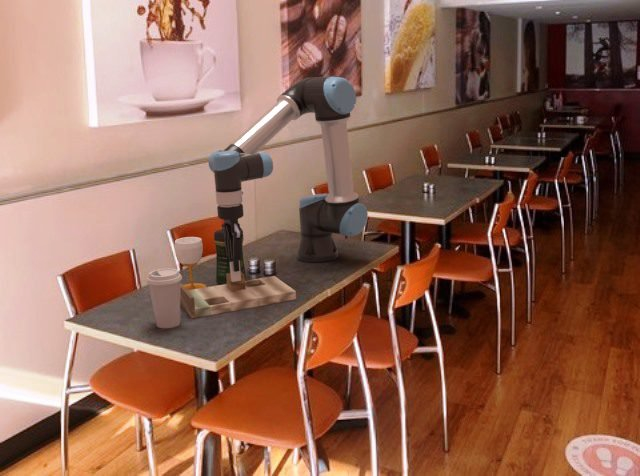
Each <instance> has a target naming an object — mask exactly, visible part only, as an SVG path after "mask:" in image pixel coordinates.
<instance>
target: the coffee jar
mask: <svg viewBox="0 0 640 476" xmlns="http://www.w3.org/2000/svg"><path fill="white" fill-rule="evenodd" d="M239 231H242V232H243V231H244V230H243V228H241V227H240V230H239ZM243 233H244V232H243ZM244 238H245V237H244V234H243V235H242V260H240V272H241V273H243V274H244V275H245V281H247V275H246V268H245V260H244V249H243V244H244ZM213 243H214V246H215V252H216V254H215V255H216V258H215V259H216V262H215V263H216V267H215V271H216V273H215V278H216V280H215V281H216V284H217V285H223V284H227V279H226V274H227V273H230V262H229V258H228V257H229V256H227V254H226V247H225V240H224V233H223V229H218V230H215V232H214V233H213Z"/></svg>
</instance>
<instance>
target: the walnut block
mask: <svg viewBox="0 0 640 476" xmlns="http://www.w3.org/2000/svg"><path fill="white" fill-rule="evenodd" d="M226 279H227V288H228V289H229V290H230V291H237V290H243V289H246V288H245V281H246V280H245V275H244V274H243V273H241V281H236V282H232V281H231V273H227V274H226Z"/></svg>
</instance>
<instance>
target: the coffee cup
mask: <svg viewBox="0 0 640 476" xmlns="http://www.w3.org/2000/svg"><path fill="white" fill-rule="evenodd" d="M182 279H183V277H182V274H181V273H180V272H179V270H178V269H177V268H169V267H168V268H158V269H155V270H154V269H153V270H152V271H149V273H148V276H147V278H146V284H148V288H149V293H150V299H151V304H152V309H153V313H154V314H153V315H154V320H155V324H156V328H159V329H172V328H176V327H178V326H180V325H181V304H180V283H181V281H182Z"/></svg>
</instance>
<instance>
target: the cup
mask: <svg viewBox="0 0 640 476" xmlns="http://www.w3.org/2000/svg"><path fill="white" fill-rule="evenodd" d="M174 250H175V254H176V257H177V260H178V262H179V263H180V264H181V265H183V266H184V267H186V268H188V269H189V271H188V272H189V281H190V283H187V284H182V285H183V286H184V287H185V288H186V289H187V290H193V289H199V288H205V287H207V285H206V284H205V283H199V282H198V283H197V282H194V277H193V267H195V266H197V265H198V264H199V262H201V259H202V257H203V251H204V246H203V239H202V238H201V237H197V236H187V237H186V236H185V237H181V238H177V239H176V240H174Z"/></svg>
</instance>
